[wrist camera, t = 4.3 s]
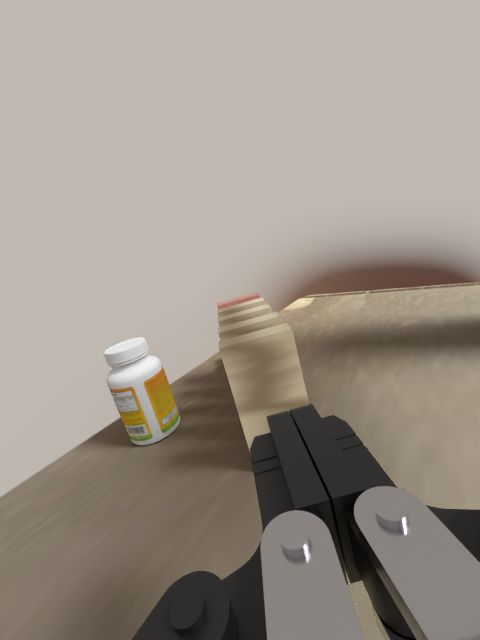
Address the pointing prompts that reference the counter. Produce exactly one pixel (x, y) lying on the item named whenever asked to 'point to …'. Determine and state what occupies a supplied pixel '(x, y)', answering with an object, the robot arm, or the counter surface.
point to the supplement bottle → (141, 392)
